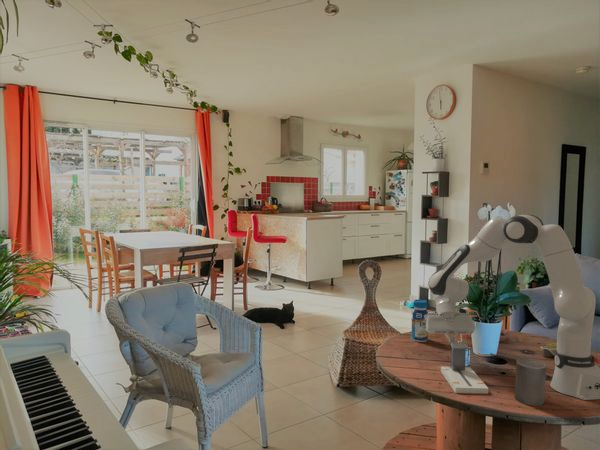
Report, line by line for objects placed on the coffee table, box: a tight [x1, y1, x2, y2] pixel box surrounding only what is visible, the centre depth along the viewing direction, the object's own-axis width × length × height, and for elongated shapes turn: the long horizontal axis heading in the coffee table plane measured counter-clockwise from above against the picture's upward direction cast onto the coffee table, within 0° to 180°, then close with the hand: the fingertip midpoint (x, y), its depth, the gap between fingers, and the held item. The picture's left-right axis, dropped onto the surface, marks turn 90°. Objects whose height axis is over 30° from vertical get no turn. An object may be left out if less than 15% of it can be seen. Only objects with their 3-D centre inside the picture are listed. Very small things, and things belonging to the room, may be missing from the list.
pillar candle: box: [514, 357, 547, 407], centre depth 166 cm, size 10×10×15 cm
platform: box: [540, 342, 557, 358], centre depth 211 cm, size 12×18×7 cm, turn 104°
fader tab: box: [450, 341, 468, 370], centre depth 189 cm, size 6×2×11 cm, turn 88°
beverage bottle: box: [410, 299, 429, 343], centre depth 234 cm, size 8×8×20 cm
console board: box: [440, 366, 489, 395], centre depth 182 cm, size 12×21×2 cm, turn 177°
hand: (452, 342), depth 197 cm, fingers closed
